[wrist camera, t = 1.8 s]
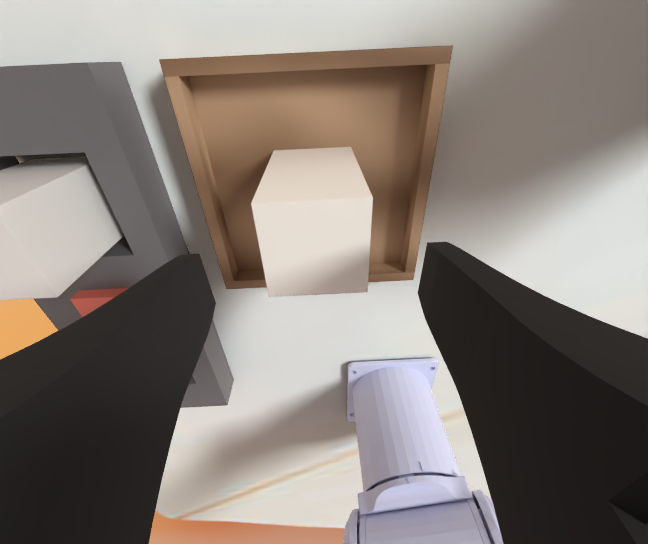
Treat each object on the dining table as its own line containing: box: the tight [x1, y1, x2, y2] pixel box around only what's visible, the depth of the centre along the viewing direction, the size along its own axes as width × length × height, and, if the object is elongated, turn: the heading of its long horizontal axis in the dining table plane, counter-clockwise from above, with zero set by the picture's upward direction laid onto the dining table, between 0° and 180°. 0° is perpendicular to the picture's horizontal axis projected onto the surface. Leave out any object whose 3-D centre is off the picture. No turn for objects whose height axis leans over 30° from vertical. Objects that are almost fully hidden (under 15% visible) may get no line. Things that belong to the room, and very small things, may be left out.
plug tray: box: [159, 46, 453, 289], centre depth 16 cm, size 12×12×2 cm
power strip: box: [0, 62, 234, 408], centre depth 19 cm, size 24×9×3 cm, turn 2°
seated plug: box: [0, 157, 124, 300], centre depth 14 cm, size 4×4×7 cm
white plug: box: [251, 147, 373, 297], centre depth 14 cm, size 4×4×7 cm
